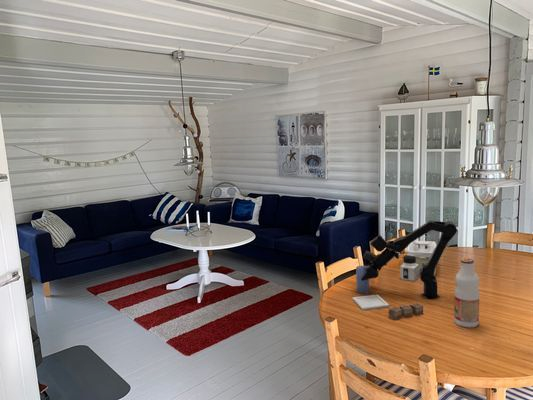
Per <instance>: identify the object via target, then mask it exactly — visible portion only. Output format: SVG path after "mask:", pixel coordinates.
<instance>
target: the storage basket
mask: <svg viewBox="0 0 533 400" xmlns="http://www.w3.org/2000/svg"><path fill="white" fill-rule="evenodd" d="M436 245H437V243H436V241H434V240H433V241H431V240H430V241H428V240H414V241H413V242H411V243H410V244H409V245H408V246H407V247H406V255H413V256H415V257H416V264H418V265H419V270H420V269H421V267H422V264H425V265H426V264H427V263H428V261H429V259H430V257H431V255H432V253H433V251H434V249H435V247H436ZM419 246H425V247H426V246H427V248H420V247H419ZM436 272H437V266H436V267H435V272H434V276H435V275H436ZM419 276H420V271H419ZM435 277H436V276H435Z"/></svg>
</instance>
